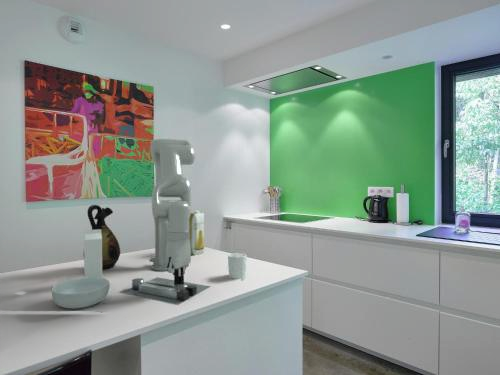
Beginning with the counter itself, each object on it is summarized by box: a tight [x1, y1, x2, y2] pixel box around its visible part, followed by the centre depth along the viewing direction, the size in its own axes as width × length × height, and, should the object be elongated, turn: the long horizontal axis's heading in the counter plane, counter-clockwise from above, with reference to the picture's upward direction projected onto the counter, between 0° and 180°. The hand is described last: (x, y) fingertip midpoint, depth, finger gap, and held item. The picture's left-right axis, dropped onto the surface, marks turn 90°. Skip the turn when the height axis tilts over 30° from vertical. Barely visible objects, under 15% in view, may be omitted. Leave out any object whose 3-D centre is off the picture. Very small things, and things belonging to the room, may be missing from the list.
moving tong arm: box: [131, 277, 197, 297], centre depth 118 cm, size 25×5×3 cm, turn 70°
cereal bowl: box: [51, 277, 111, 310], centre depth 107 cm, size 17×17×7 cm
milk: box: [83, 229, 103, 278], centre depth 126 cm, size 6×6×22 cm
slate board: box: [119, 277, 211, 306], centre depth 120 cm, size 26×20×1 cm
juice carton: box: [189, 210, 205, 256], centre depth 182 cm, size 9×8×24 cm
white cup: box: [227, 252, 248, 281], centre depth 137 cm, size 8×8×10 cm
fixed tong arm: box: [139, 283, 189, 302], centre depth 114 cm, size 20×3×3 cm, turn 65°
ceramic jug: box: [83, 204, 121, 271], centre depth 148 cm, size 17×15×30 cm
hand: (179, 285), depth 120 cm, fingers closed
